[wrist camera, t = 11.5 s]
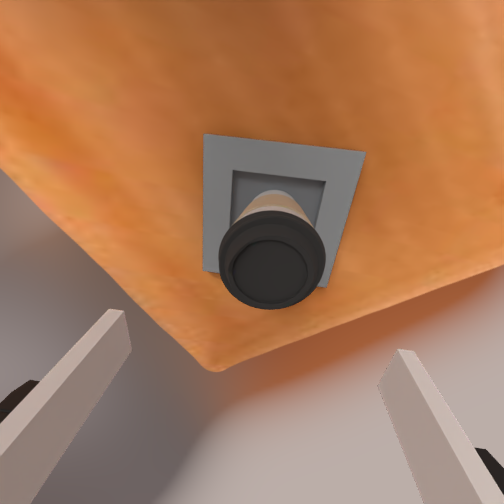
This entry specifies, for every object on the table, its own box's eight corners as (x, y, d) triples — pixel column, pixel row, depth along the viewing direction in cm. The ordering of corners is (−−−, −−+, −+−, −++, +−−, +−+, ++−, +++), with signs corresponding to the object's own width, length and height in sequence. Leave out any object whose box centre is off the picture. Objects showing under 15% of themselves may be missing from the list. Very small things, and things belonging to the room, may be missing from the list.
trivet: (208, 133, 28) (203, 133, 27) (360, 150, 28) (366, 152, 26) (206, 264, 37) (202, 270, 35) (324, 279, 36) (326, 287, 34)
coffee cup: (322, 206, 30) (359, 265, 17) (281, 258, 34) (284, 339, 21) (262, 166, 29) (250, 195, 15) (226, 225, 33) (191, 289, 19)
